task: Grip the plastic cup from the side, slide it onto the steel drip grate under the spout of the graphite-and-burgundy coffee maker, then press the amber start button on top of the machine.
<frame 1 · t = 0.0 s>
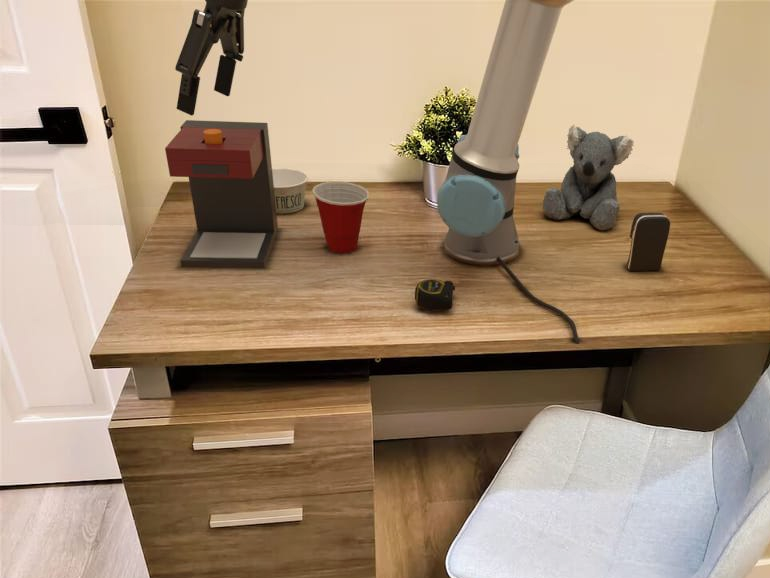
hand: (204, 102, 128), 28 cm above the table, tool tilted 20°, fingers open, 13 cm apart
tape measure: (438, 305, 130), on the table
plastic cup: (343, 248, 147), on the table
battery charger: (641, 268, 148), on the table
coffee maker: (232, 247, 144), on the table
start button: (213, 138, 129), point 22 cm above the table, slide at 0.1 cm
koala plush: (585, 214, 170), on the table
food container: (282, 206, 163), on the table
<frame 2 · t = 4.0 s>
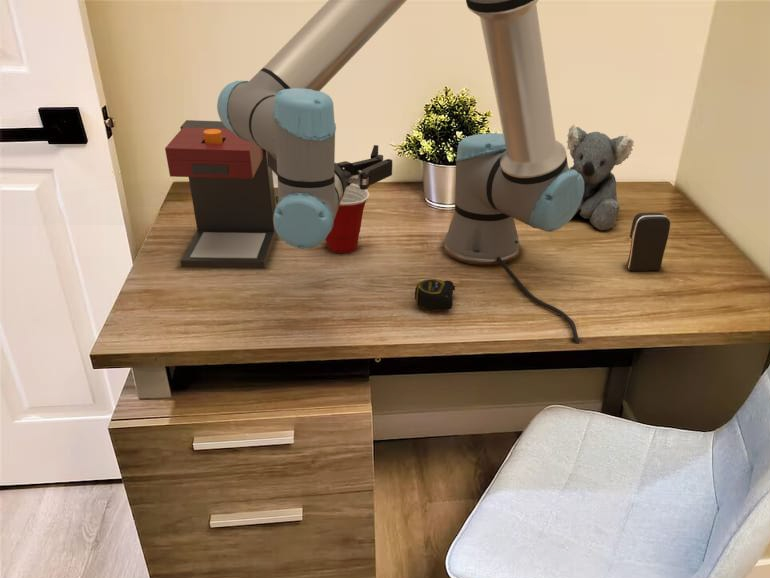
hand: (336, 149, 127), 23 cm above the table, tool horizontal, fingers open, 13 cm apart
nothing on the table moved.
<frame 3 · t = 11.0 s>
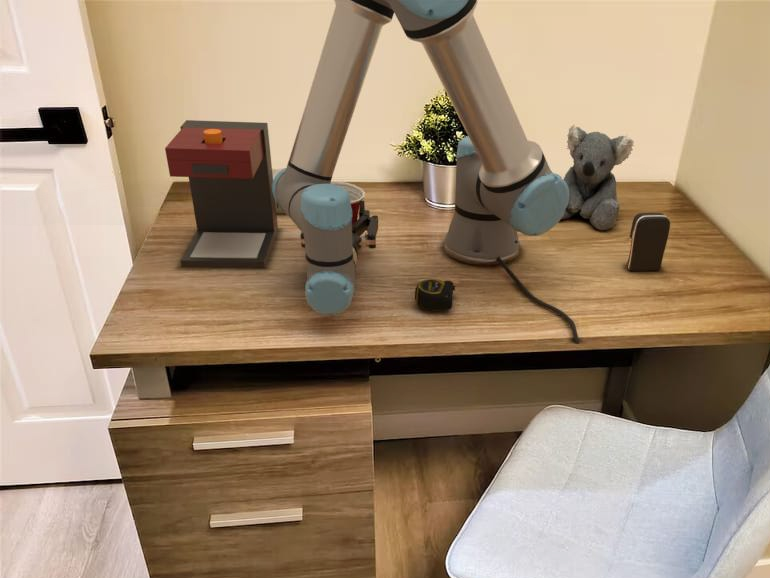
hand: (344, 206, 148), 7 cm above the table, tool horizontal, fingers closed on plastic cup, 6 cm apart
plastic cup: (339, 248, 147), on the table, touching gripper
everything else where it was.
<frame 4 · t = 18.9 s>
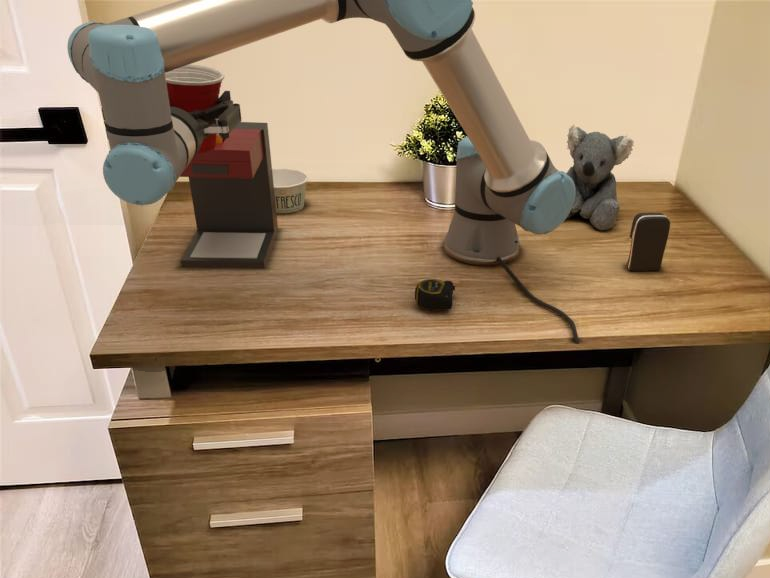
hand: (205, 98, 119), 31 cm above the table, tool horizontal, fingers closed on plastic cup, 6 cm apart
plastic cup: (198, 149, 118), point 24 cm above the table, touching gripper
everything else where it was.
when the fingers open (8 cm above the table, at t = 26.8 s): plastic cup stays where it is, resting on coffee maker.
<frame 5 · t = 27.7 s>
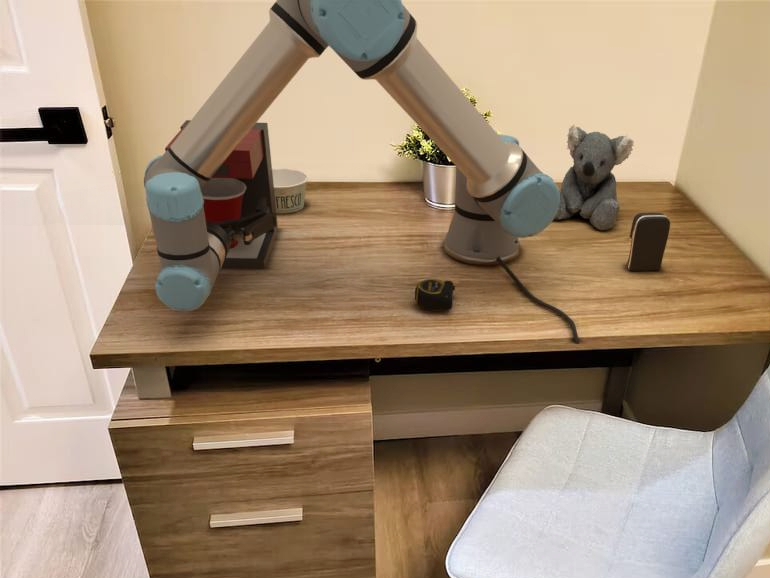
hand: (227, 202, 140), 9 cm above the table, tool horizontal, fingers open, 13 cm apart
plastic cup: (224, 245, 141), point 2 cm above the table, touching coffee maker
everything else where it was.
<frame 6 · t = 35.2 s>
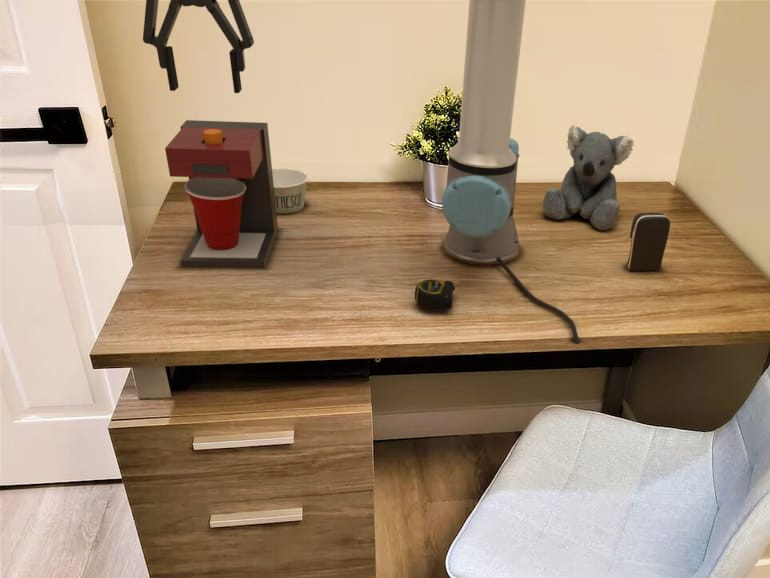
hand: (206, 90, 125), 31 cm above the table, tool pointing down, fingers open, 10 cm apart
nothing on the table moved.
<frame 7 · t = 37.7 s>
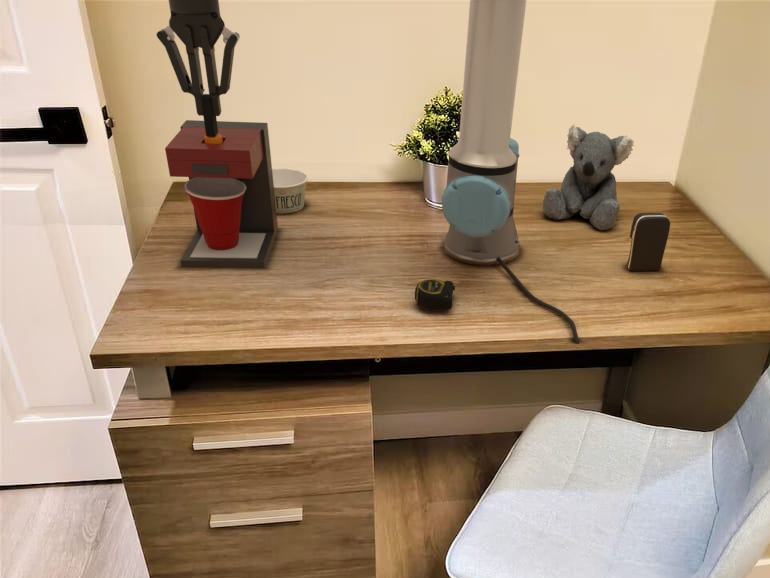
hand: (212, 134, 129), 23 cm above the table, tool pointing down, fingers closed
start button: (213, 142, 130), point 22 cm above the table, slide at -0.7 cm, touching gripper
everything else where it was.
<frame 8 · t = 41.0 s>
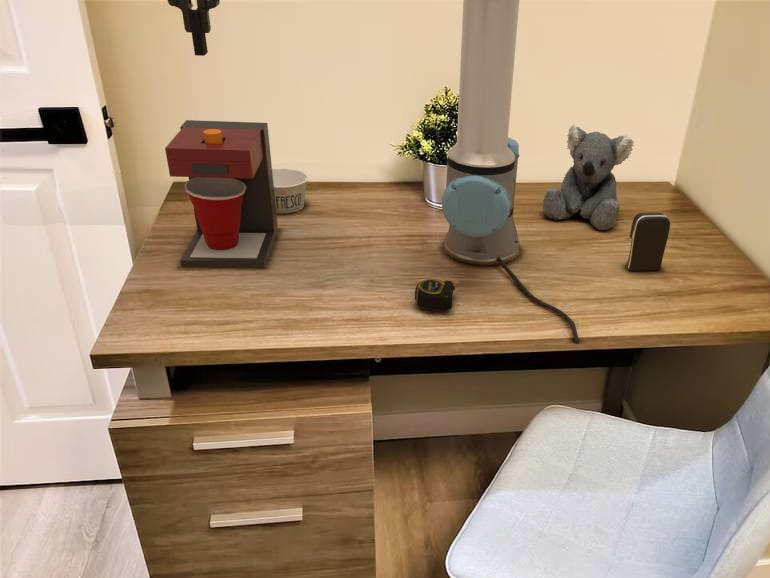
hand: (201, 53, 122), 36 cm above the table, tool pointing down, fingers closed
start button: (213, 138, 129), point 22 cm above the table, slide at 0.1 cm
everything else where it was.
at the end: plastic cup 1.1 cm from the target spot on the coffee maker, point 1.5 cm above the coffee maker's base; start button pushed in 0.7 cm at the most during the clip, back to where it started at the end; start button slide at 0.1 cm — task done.
